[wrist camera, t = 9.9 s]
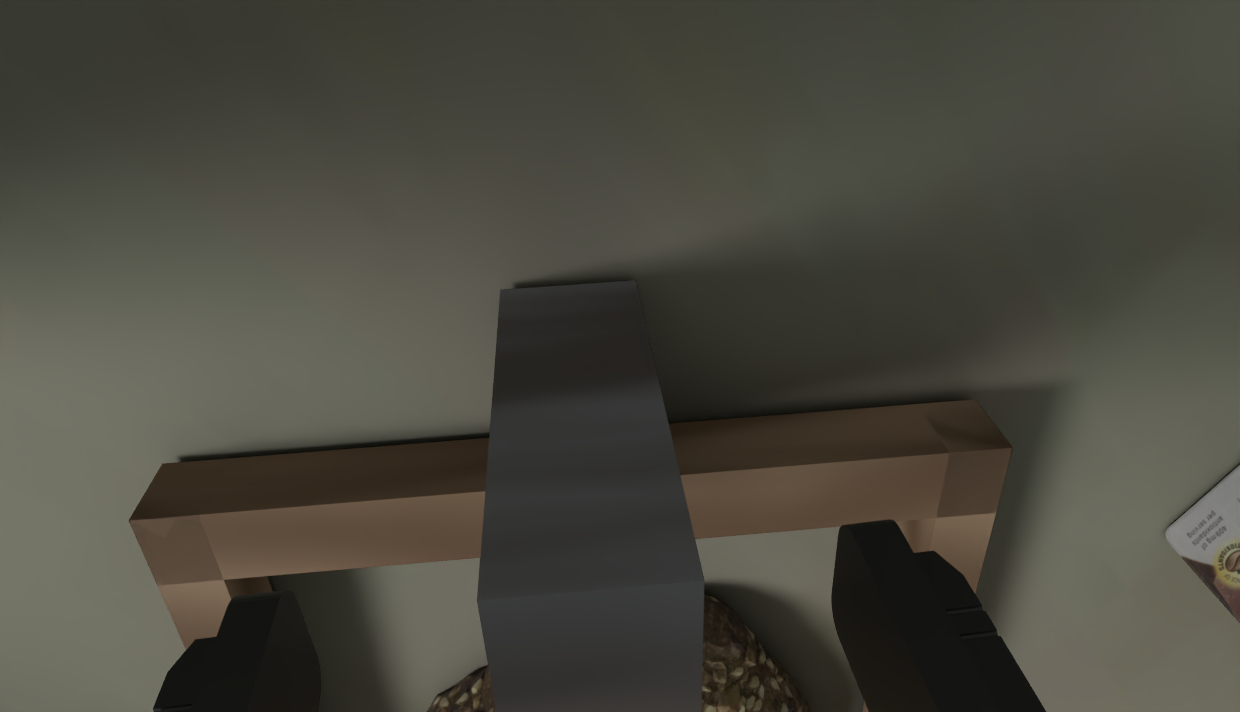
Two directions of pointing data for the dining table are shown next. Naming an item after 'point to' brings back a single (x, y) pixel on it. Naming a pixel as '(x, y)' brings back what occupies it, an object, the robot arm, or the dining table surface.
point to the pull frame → (575, 506)
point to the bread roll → (731, 674)
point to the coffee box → (1213, 540)
